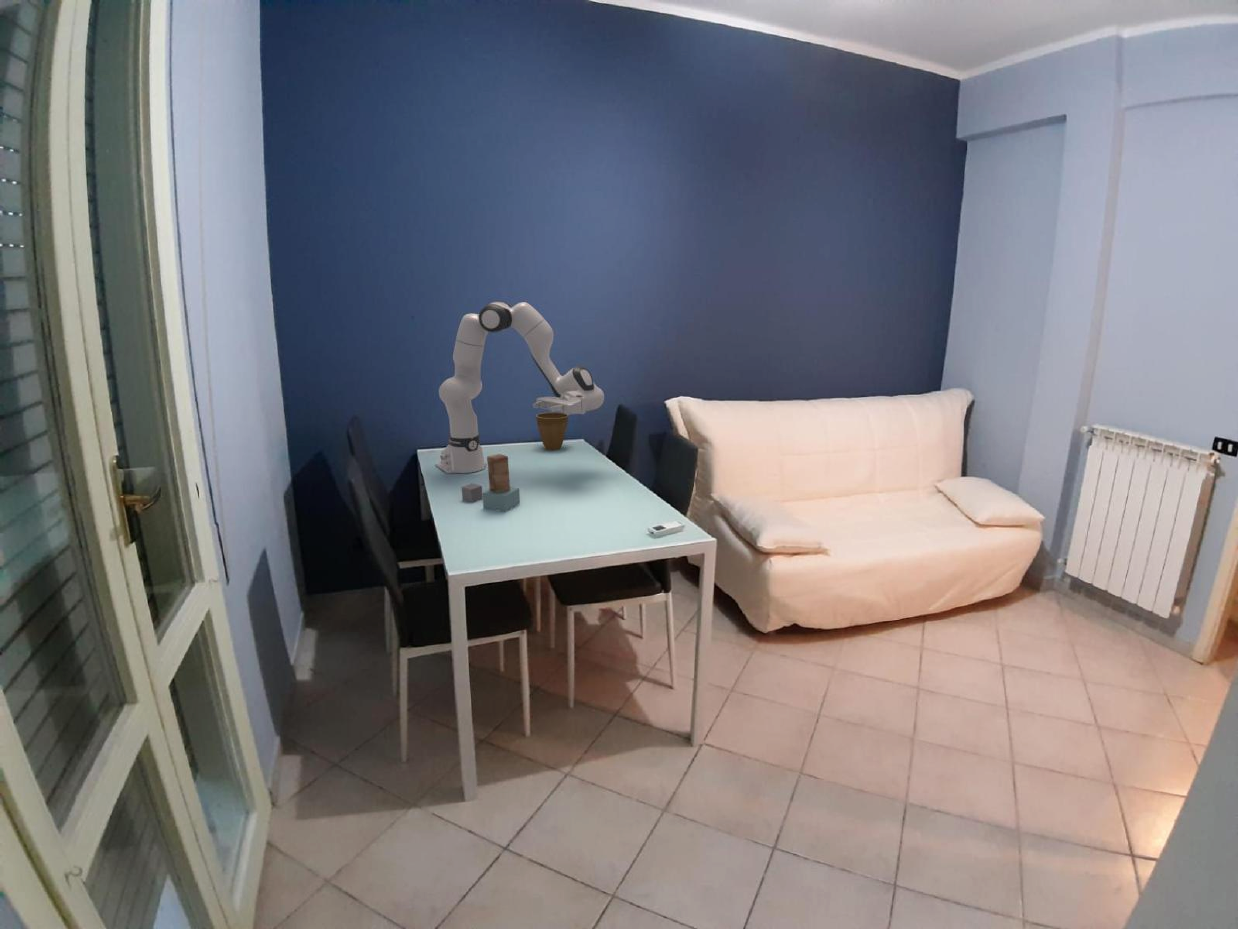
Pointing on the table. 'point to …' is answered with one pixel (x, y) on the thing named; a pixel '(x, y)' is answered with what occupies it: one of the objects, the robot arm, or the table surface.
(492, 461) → the walnut block
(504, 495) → the teal base block
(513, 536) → the table surface
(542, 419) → the plant pot
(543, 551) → the table surface
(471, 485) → the charcoal cube
